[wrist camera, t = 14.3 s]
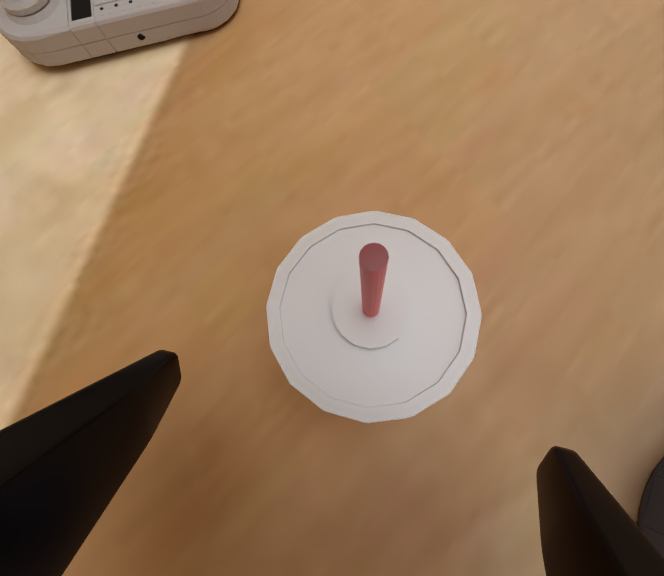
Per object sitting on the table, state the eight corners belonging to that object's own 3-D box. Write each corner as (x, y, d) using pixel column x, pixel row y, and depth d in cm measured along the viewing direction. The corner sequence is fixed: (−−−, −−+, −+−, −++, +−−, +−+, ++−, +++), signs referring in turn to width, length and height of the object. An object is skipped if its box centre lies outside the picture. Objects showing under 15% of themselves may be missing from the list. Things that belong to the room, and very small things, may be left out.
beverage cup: (306, 397, 19) (158, 449, 6) (314, 279, 21) (211, 92, 7) (430, 405, 19) (601, 486, 5) (430, 283, 20) (564, 86, 6)
